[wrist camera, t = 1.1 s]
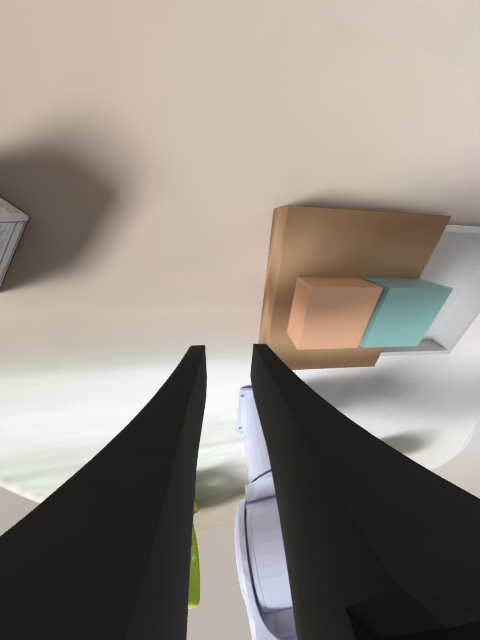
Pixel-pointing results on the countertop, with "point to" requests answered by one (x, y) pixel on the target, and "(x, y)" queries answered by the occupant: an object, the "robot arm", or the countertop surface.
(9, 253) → the medicine box
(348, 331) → the terracotta tile
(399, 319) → the teal tile
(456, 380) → the countertop surface
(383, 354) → the tray
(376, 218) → the walnut board
